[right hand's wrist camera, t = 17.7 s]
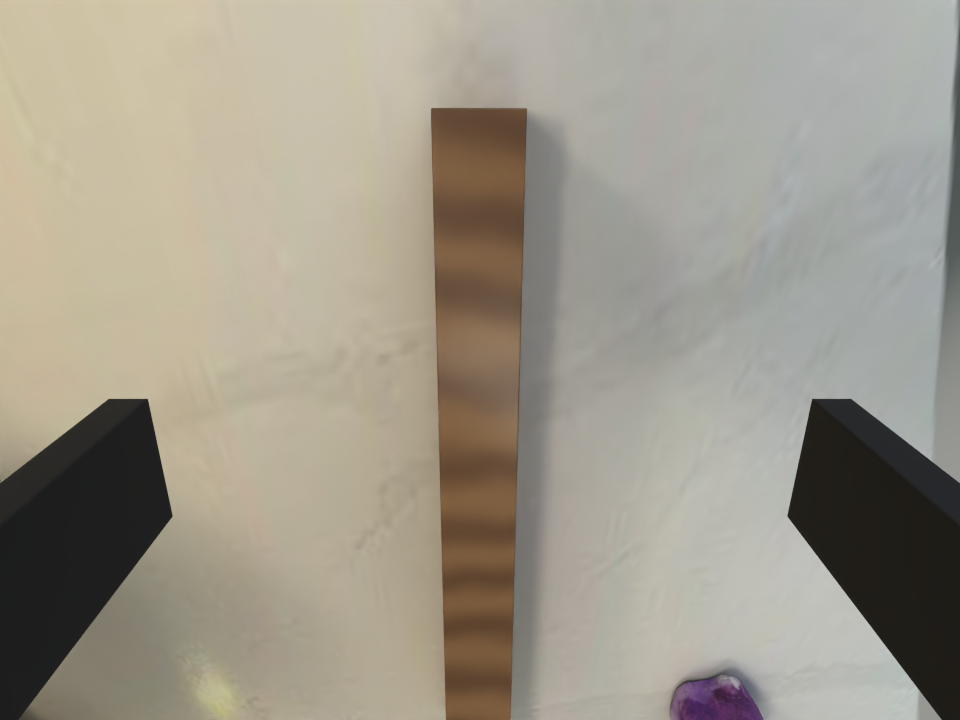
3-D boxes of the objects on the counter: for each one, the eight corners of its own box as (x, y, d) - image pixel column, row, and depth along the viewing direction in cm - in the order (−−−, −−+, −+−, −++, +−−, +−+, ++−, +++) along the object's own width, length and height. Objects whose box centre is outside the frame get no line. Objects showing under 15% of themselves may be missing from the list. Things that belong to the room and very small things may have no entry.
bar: (438, 108, 43) (430, 108, 36) (519, 108, 43) (526, 108, 36) (451, 711, 64) (447, 783, 57) (505, 711, 64) (508, 783, 57)
